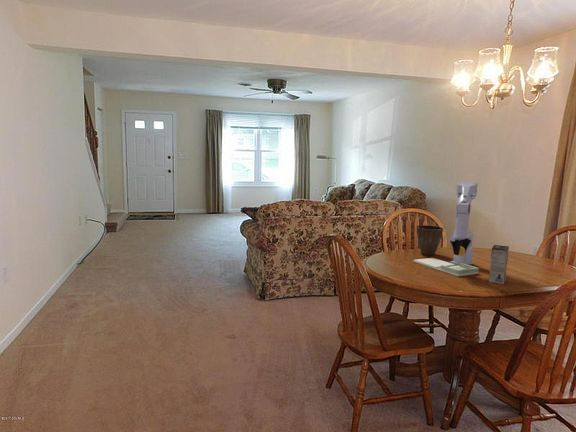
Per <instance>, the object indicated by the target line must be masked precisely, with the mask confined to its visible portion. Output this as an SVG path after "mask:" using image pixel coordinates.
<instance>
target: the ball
mask: <svg viewBox="0 0 576 432" xmlns="http://www.w3.org/2000/svg"><path fill="white" fill-rule="evenodd" d="M464 254H465V249H464V248H463V247H462V246H461V247H460V251H459V255H457V256H463V255H464Z"/></svg>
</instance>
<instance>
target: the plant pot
mask: <svg viewBox="0 0 576 432" xmlns="http://www.w3.org/2000/svg"><path fill="white" fill-rule="evenodd" d="M443 231H444V228H443V227H441V226H436V225H427V224H426V225H423V224H422V225H416V236H417V237H416V238H417V243H418V247H419V250H420V253H421V254H422V255H425V256H434V255H435V253H436V251H437V249H438V247H439V246H440V245H439V244H440V242H441V239H442V236H443Z"/></svg>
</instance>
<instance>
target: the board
mask: <svg viewBox="0 0 576 432" xmlns="http://www.w3.org/2000/svg"><path fill="white" fill-rule="evenodd" d="M413 263H417V264H419V265H421V266H426V267H428V268H432V269H434V270H438V271H440V272H443V273H446V274H449V275H452V276H455V277H463V276H470V275H478V274H479V270H480V268H479V267H476V266H472V265H471V264H469V265H467V264H463V263H460V265H458V264H455V263H451V262H450V261H444V260H442V259H438V258H435V257H430V258H428V257H427V258H419V259H418V258H417V259H413Z"/></svg>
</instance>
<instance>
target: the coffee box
mask: <svg viewBox="0 0 576 432" xmlns="http://www.w3.org/2000/svg"><path fill="white" fill-rule="evenodd" d="M509 247H510V246H509V245H508V246H507V245H499V244H494V245H493V246H492V248H491V255H490V256H491V257H490V266H489V276H488V277H489V278H488V282H489V283H494V284H499V285H504V284H505V282H506V279H507V277H506V275H507V267H508V257H509V249H510V248H509Z"/></svg>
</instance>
